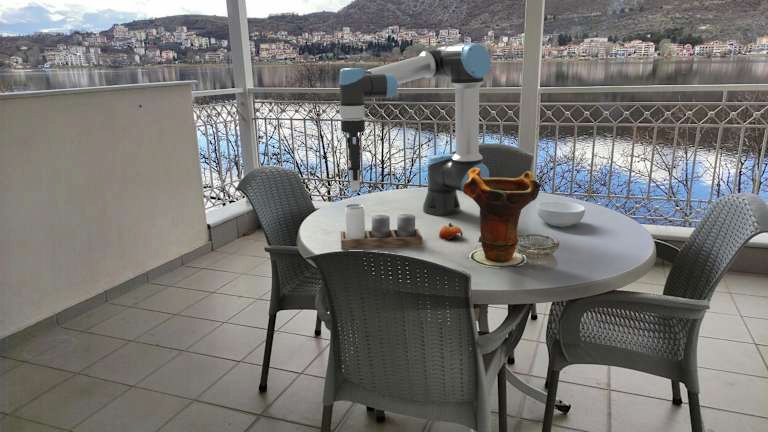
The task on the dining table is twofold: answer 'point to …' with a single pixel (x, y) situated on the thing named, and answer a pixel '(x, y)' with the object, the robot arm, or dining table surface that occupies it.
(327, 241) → the dining table surface
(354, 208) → the can
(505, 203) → the decorative vase
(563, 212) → the cereal bowl
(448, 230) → the tomato
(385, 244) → the socket rail
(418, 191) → the dining table surface
